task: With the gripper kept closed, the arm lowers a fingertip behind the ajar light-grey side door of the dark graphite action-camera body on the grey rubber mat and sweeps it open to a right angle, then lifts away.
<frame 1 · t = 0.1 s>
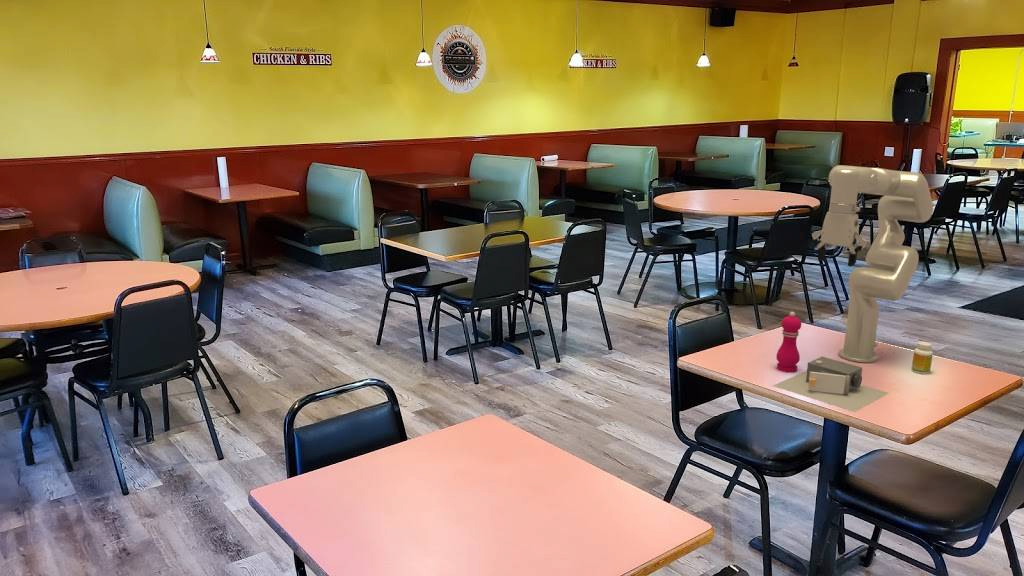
hand: (836, 263, 239), 37 cm above the table, tool pointing down, fingers open, 9 cm apart
side door: (829, 383, 229), point 4 cm above the table, hinge at 30.0°
pepper mill: (786, 370, 251), on the table
mat: (830, 390, 234), on the table
supplement bottle: (920, 372, 250), on the table
camera body: (832, 384, 237), resting on mat
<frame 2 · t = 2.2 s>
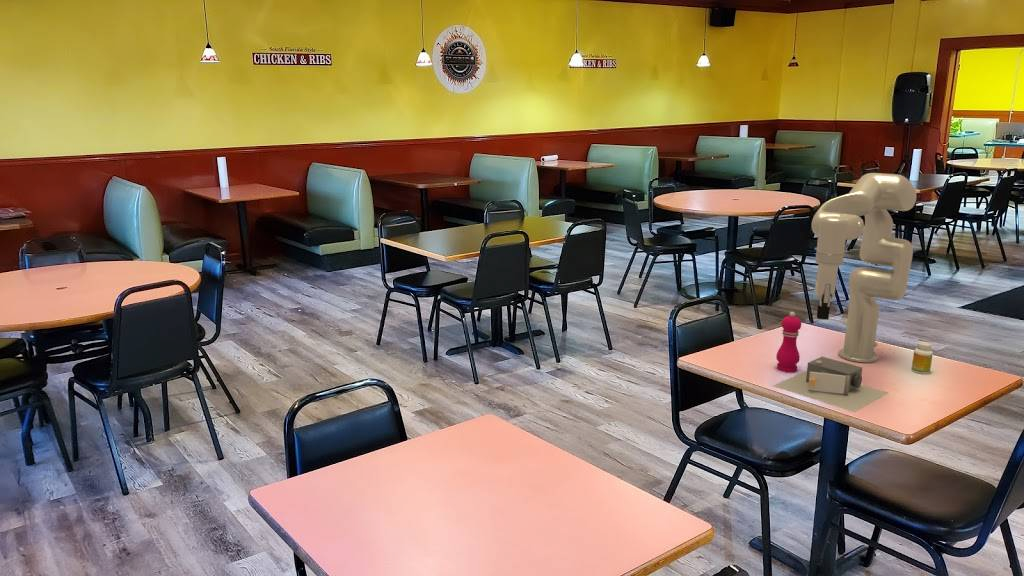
hand: (822, 318, 228), 23 cm above the table, tool pointing down, fingers closed
nothing on the table moved.
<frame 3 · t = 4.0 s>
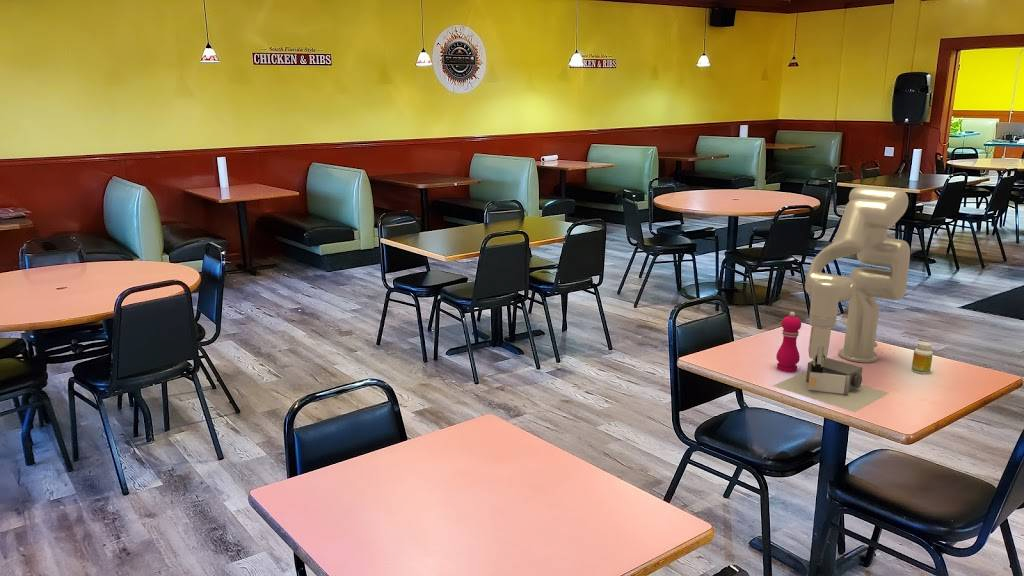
hand: (816, 377, 233), 4 cm above the table, tool pointing down, fingers closed
side door: (829, 383, 229), point 4 cm above the table, hinge at 30.3°, touching gripper
everything else where it was.
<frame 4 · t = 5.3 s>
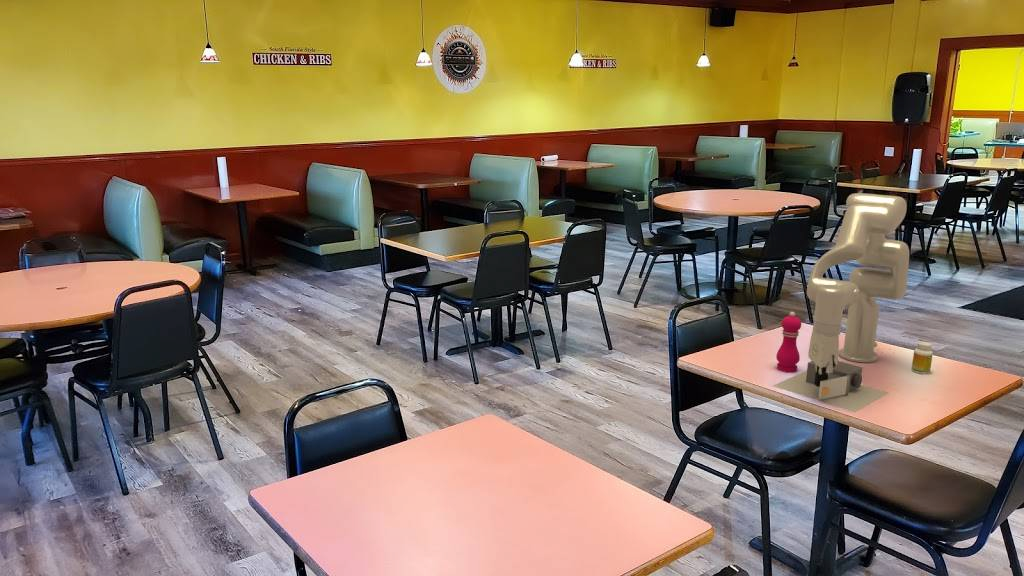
hand: (820, 385, 227), 4 cm above the table, tool pointing down, fingers closed
side door: (836, 388, 226), point 4 cm above the table, hinge at 73.9°, touching gripper
everything else where it was.
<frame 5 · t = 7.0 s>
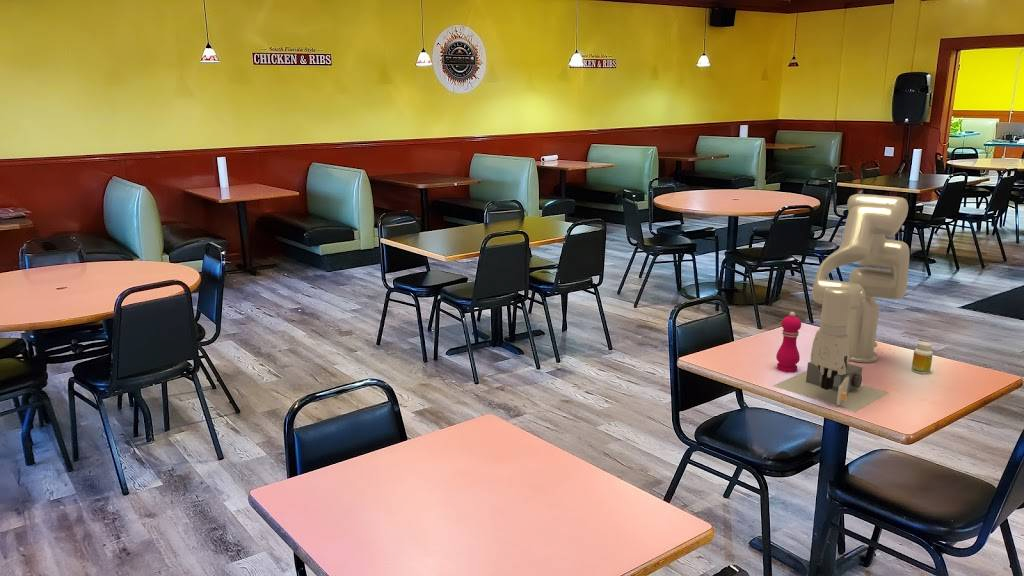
hand: (826, 388, 226), 4 cm above the table, tool pointing down, fingers closed
side door: (845, 390, 224), point 4 cm above the table, hinge at 104.9°
everything else where it was.
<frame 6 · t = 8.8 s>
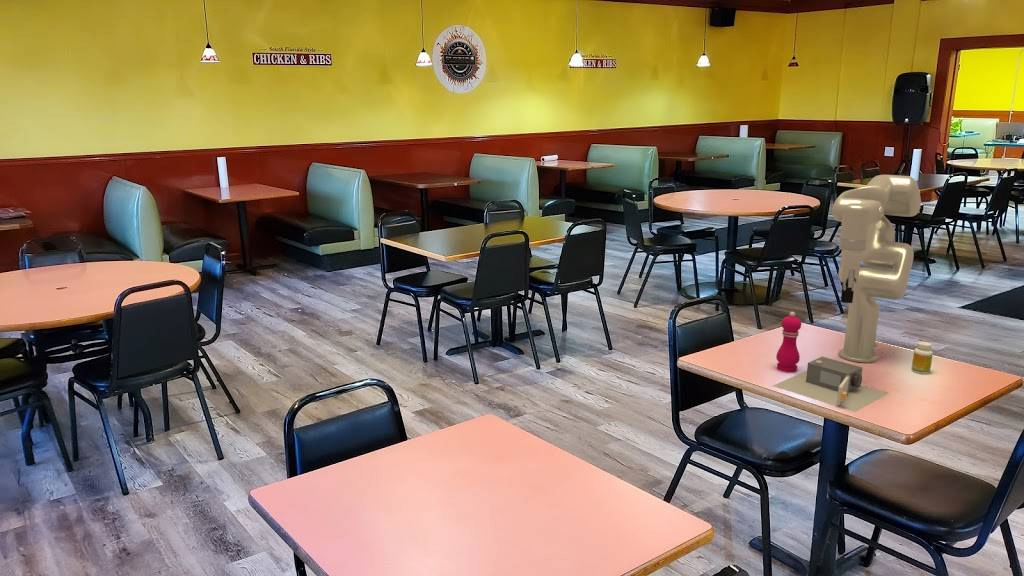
hand: (846, 301, 236), 26 cm above the table, tool pointing down, fingers closed
nothing on the table moved.
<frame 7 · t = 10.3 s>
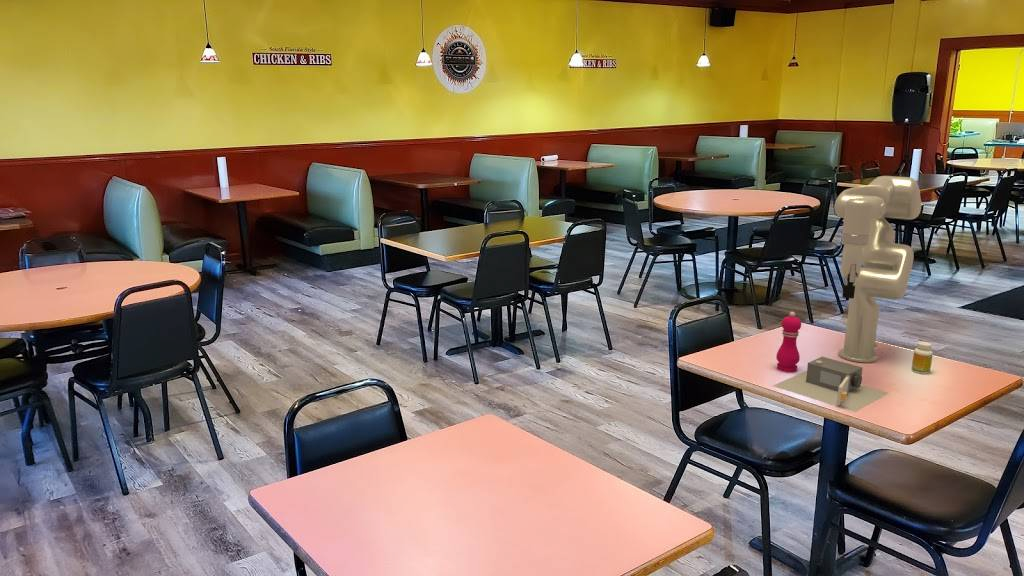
hand: (848, 297, 236), 27 cm above the table, tool pointing down, fingers closed
nothing on the table moved.
at the end: side door at +105° (first picture: +30°) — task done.
